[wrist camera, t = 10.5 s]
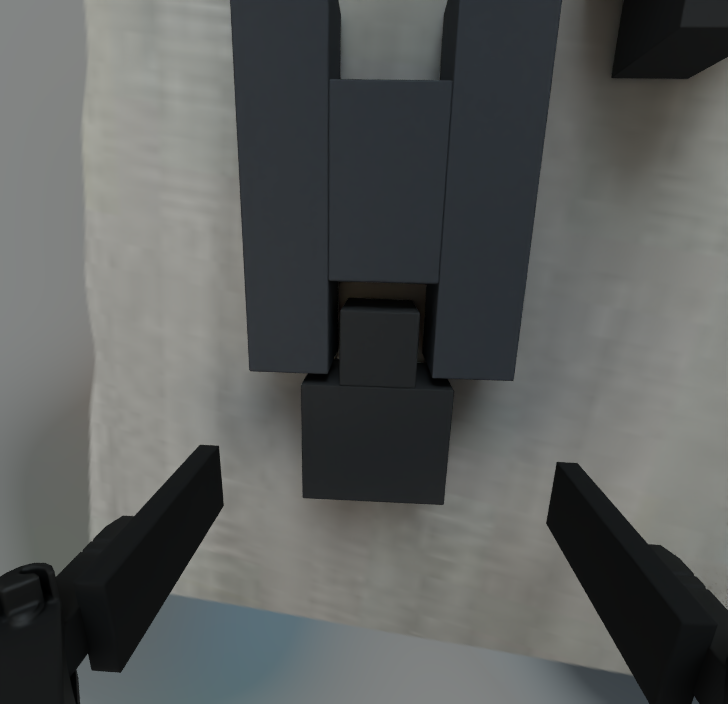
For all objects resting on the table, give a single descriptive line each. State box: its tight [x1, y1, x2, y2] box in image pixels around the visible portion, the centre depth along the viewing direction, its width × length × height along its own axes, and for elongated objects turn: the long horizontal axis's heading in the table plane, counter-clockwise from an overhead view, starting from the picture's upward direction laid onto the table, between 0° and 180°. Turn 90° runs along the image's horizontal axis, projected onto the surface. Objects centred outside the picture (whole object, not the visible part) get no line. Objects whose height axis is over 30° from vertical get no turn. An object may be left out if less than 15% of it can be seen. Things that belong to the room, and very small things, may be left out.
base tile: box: [230, 0, 562, 381], centre depth 18 cm, size 12×16×4 cm
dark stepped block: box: [301, 298, 454, 505], centre depth 21 cm, size 7×10×4 cm
